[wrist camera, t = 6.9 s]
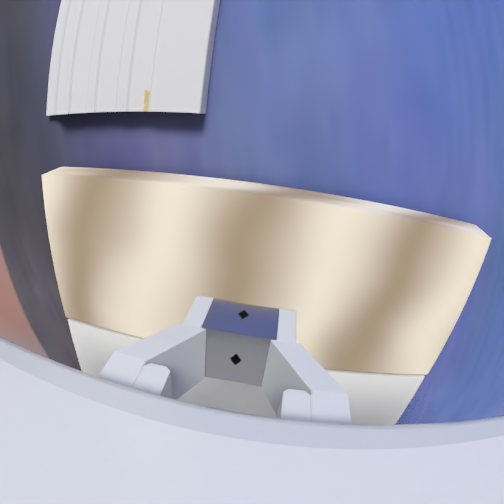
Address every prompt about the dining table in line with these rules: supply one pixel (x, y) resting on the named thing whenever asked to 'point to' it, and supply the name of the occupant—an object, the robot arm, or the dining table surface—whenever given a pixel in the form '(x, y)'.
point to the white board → (252, 397)
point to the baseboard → (132, 56)
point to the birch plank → (261, 261)
